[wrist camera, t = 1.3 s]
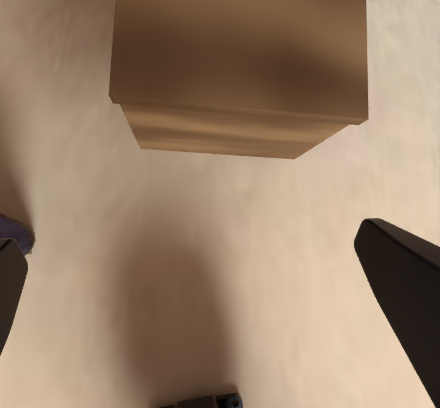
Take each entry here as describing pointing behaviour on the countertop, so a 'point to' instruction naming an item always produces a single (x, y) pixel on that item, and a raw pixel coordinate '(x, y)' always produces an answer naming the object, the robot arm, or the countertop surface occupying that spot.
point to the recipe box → (239, 73)
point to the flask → (17, 233)
